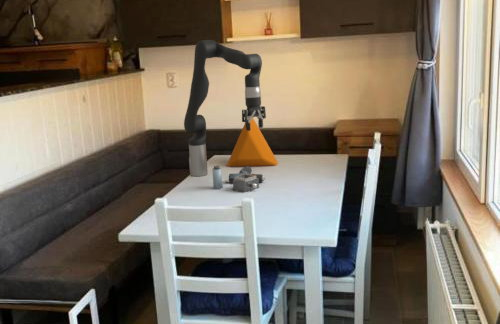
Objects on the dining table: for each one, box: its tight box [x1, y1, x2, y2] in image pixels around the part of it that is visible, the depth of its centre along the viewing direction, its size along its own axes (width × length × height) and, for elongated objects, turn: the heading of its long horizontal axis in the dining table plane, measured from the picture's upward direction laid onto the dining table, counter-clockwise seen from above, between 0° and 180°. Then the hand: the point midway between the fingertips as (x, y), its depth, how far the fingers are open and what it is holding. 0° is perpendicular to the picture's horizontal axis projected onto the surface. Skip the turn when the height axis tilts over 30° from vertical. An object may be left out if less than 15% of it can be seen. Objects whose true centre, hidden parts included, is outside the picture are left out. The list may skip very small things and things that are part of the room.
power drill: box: [228, 166, 266, 184], centre depth 294 cm, size 5×19×20 cm
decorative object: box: [226, 116, 279, 168], centre depth 322 cm, size 30×15×30 cm, turn 82°
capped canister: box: [211, 165, 224, 190], centre depth 278 cm, size 5×5×11 cm
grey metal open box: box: [232, 173, 260, 193], centre depth 274 cm, size 11×10×6 cm
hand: (254, 129), depth 272 cm, fingers open, 8 cm apart
